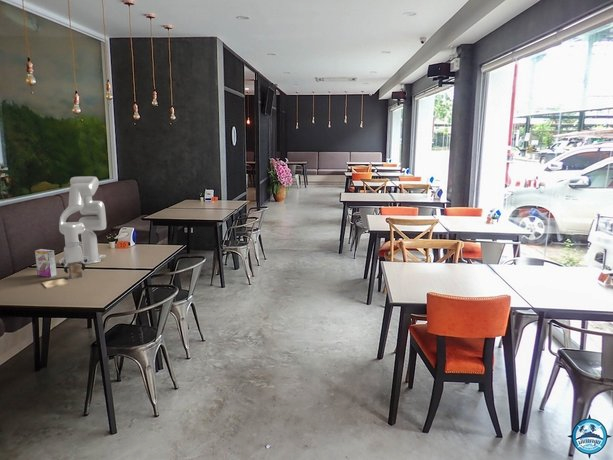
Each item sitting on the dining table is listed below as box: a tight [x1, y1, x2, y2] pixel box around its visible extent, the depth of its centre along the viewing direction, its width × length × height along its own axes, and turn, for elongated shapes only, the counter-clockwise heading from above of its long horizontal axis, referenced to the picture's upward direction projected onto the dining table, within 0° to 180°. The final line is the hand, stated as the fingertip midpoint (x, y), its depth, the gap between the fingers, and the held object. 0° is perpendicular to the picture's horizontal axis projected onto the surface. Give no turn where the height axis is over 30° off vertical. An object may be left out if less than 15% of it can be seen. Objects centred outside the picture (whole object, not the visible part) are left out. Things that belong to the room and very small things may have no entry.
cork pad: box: [41, 278, 70, 289], centre depth 282 cm, size 12×12×1 cm
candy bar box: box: [34, 248, 58, 278], centre depth 298 cm, size 11×5×16 cm, turn 71°
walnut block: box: [67, 262, 83, 280], centre depth 295 cm, size 6×6×8 cm
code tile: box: [66, 274, 86, 281], centre depth 296 cm, size 9×9×1 cm
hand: (75, 271), depth 295 cm, fingers open, 9 cm apart
